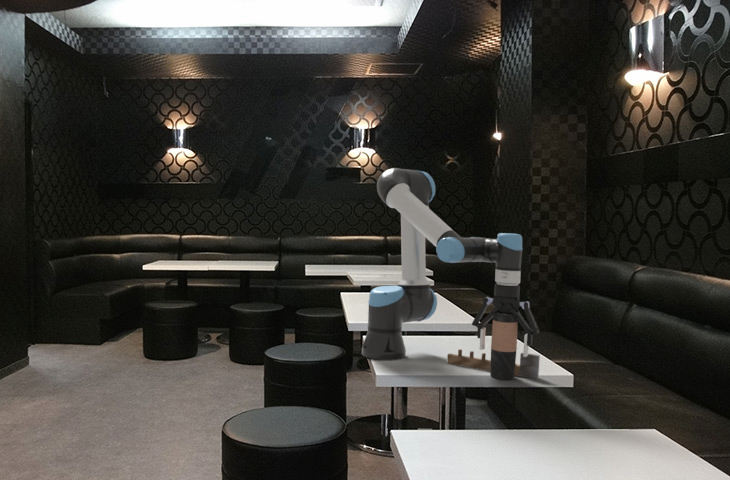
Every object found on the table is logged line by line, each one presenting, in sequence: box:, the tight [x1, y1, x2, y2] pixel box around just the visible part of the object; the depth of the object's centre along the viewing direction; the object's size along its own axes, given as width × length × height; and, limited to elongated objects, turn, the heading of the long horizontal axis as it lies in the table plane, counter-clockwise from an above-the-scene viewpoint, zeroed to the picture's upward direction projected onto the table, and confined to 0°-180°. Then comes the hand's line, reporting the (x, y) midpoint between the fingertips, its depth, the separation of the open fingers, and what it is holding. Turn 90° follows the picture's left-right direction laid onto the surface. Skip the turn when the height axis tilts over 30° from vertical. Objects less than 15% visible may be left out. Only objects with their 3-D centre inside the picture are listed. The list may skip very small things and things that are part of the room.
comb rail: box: [446, 349, 541, 380], centre depth 193 cm, size 30×2×7 cm, turn 61°
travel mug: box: [490, 312, 519, 381], centre depth 185 cm, size 8×8×20 cm
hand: (503, 352), depth 185 cm, fingers open, 13 cm apart
